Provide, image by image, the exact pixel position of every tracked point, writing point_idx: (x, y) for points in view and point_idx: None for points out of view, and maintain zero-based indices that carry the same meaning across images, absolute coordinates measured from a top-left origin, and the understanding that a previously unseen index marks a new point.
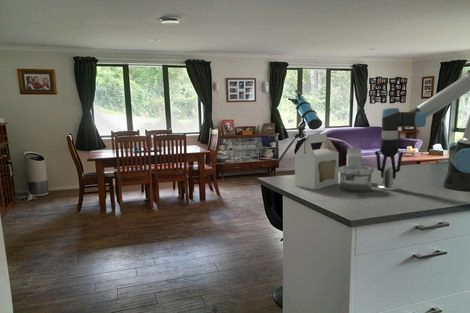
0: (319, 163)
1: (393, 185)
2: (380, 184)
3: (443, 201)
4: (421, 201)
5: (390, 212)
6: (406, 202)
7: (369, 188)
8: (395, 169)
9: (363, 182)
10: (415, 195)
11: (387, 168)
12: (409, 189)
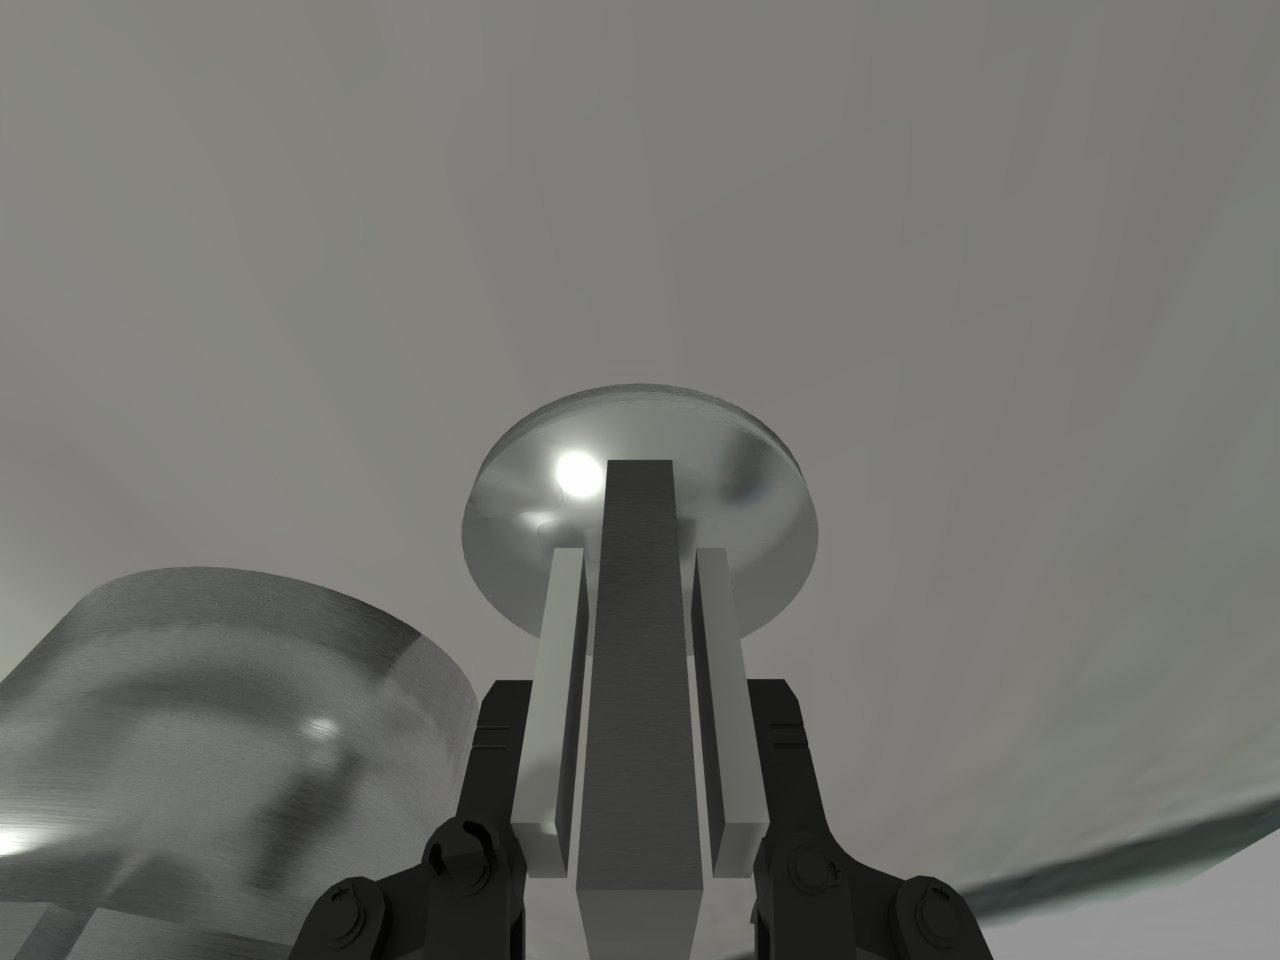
0: None
1: (723, 470)
2: (477, 483)
3: (1179, 770)
4: (972, 810)
5: (751, 940)
6: (848, 846)
7: (470, 750)
8: (839, 939)
9: None
10: (979, 701)
11: (587, 936)
12: (993, 466)
